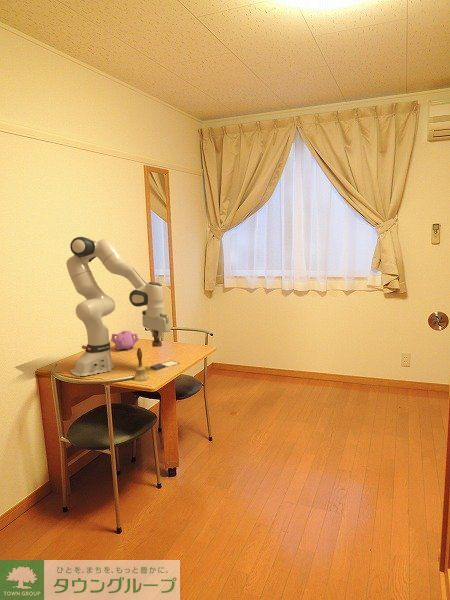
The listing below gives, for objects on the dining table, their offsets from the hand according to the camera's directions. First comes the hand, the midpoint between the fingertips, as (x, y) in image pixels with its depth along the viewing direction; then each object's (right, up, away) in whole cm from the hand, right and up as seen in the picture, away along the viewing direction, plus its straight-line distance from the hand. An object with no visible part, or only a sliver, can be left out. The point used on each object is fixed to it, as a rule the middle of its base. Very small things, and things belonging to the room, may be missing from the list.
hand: (156, 337), depth 221 cm
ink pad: (0, -17, +2) cm, 17 cm away
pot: (-27, -11, +42) cm, 51 cm away
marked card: (+6, -16, +9) cm, 19 cm away
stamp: (0, -4, +1) cm, 4 cm away
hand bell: (-6, -20, -13) cm, 24 cm away
